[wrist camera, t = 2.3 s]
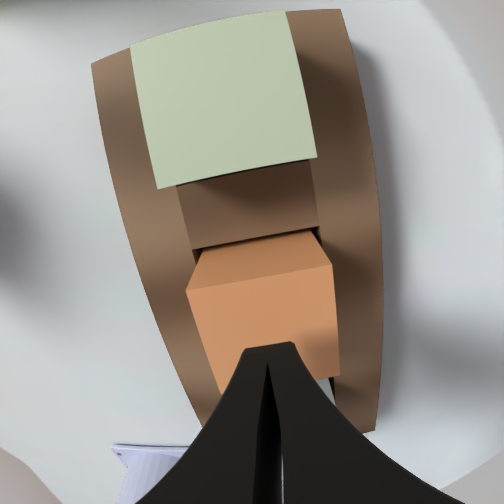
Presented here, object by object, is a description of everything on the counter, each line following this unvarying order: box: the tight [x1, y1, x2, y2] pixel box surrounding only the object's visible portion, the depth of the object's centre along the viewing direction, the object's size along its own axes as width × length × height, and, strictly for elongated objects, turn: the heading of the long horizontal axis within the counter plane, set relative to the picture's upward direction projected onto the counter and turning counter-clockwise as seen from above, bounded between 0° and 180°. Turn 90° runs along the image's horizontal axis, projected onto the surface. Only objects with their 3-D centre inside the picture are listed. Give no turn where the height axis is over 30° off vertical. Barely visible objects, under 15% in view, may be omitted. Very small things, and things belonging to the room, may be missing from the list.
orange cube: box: [186, 229, 340, 394], centre depth 12 cm, size 4×4×4 cm
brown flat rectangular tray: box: [91, 9, 383, 434], centre depth 14 cm, size 22×10×2 cm, turn 11°
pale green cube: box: [130, 10, 317, 189], centre depth 9 cm, size 4×4×4 cm
